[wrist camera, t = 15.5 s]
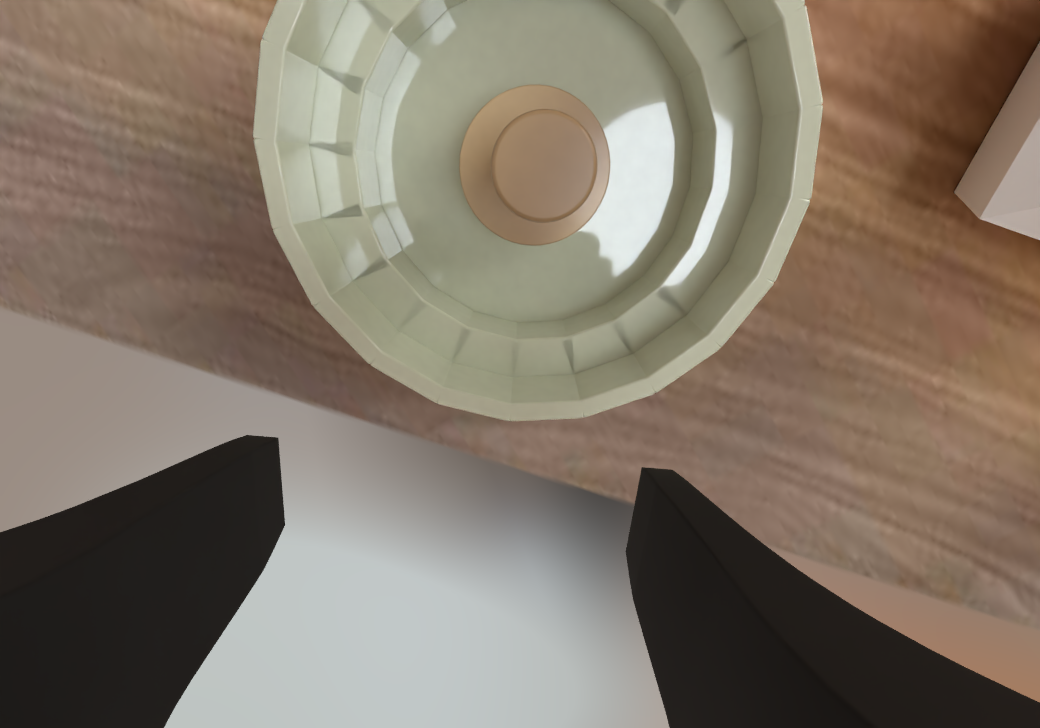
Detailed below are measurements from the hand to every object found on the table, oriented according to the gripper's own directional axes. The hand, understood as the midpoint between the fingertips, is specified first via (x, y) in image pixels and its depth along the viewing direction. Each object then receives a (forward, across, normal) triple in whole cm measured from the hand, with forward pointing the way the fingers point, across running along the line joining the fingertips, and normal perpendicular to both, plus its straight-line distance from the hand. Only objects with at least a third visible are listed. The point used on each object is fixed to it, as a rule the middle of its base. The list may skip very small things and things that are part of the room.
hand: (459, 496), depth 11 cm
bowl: (+10, -1, -6) cm, 12 cm away
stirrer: (+10, -1, -6) cm, 12 cm away
